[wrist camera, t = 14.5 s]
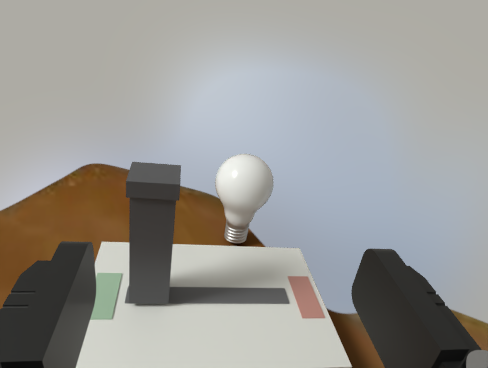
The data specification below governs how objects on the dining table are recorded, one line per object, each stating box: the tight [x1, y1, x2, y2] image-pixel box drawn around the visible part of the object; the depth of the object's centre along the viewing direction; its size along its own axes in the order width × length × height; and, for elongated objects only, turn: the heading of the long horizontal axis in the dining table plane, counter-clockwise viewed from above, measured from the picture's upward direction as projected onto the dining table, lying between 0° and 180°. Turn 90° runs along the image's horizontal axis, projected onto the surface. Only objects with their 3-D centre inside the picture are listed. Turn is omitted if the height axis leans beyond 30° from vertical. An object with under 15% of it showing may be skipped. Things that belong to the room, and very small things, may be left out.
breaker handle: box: [126, 162, 181, 304], centre depth 27 cm, size 3×3×11 cm
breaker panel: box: [76, 242, 352, 368], centre depth 31 cm, size 20×14×3 cm
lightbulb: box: [215, 154, 273, 243], centre depth 41 cm, size 6×6×11 cm
